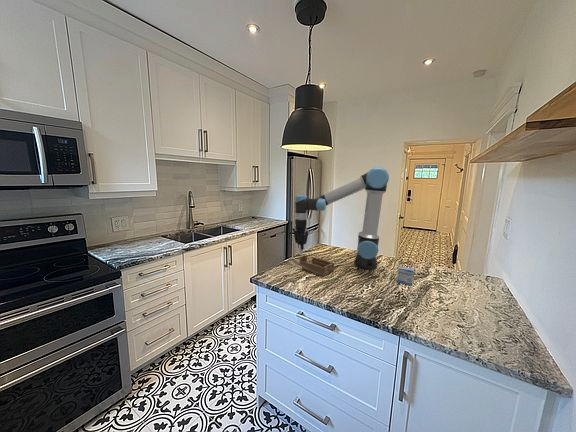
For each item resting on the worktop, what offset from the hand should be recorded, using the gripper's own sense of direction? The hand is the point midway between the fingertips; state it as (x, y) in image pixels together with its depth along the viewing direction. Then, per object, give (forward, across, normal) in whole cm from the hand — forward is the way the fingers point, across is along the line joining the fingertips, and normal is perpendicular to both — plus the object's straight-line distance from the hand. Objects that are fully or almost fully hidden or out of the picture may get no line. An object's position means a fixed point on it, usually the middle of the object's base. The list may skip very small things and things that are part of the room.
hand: (300, 253), depth 163 cm
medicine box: (+9, +60, +20) cm, 64 cm away
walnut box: (+8, +14, 0) cm, 16 cm away
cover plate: (+8, -3, +1) cm, 9 cm away
